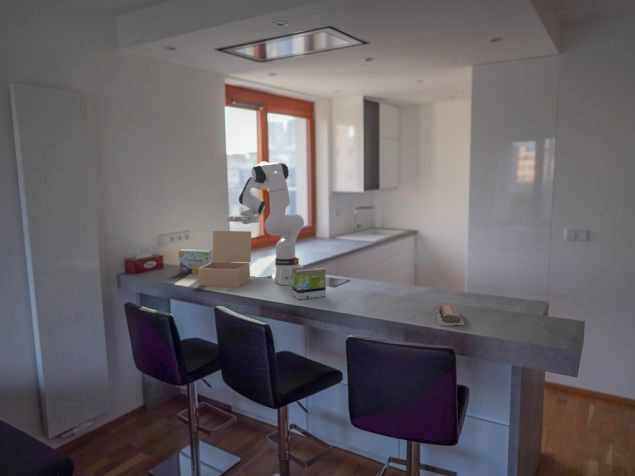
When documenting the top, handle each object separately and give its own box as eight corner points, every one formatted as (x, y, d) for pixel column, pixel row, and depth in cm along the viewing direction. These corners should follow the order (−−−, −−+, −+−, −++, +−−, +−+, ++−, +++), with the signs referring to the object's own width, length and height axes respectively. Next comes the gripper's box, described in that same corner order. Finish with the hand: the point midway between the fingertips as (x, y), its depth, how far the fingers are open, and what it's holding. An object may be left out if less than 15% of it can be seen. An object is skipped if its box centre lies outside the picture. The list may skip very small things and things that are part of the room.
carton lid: (250, 262, 278) (250, 262, 279) (250, 231, 279) (251, 231, 280) (212, 261, 284) (213, 261, 285) (213, 230, 284) (213, 230, 285)
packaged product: (435, 302, 211) (458, 303, 209) (435, 313, 212) (458, 313, 210) (439, 315, 193) (464, 316, 192) (439, 326, 194) (464, 327, 193)
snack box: (179, 273, 300) (178, 250, 298) (184, 271, 306) (183, 248, 303) (209, 274, 294) (207, 251, 292) (213, 272, 299) (212, 249, 297)
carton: (250, 279, 280) (249, 263, 278) (238, 287, 262) (237, 269, 261) (213, 277, 285) (212, 261, 284) (199, 285, 268) (198, 268, 266)
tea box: (298, 300, 234) (297, 271, 232) (292, 295, 243) (291, 267, 241) (326, 297, 239) (325, 268, 237) (319, 292, 249) (318, 264, 246)
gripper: (231, 212, 306) (222, 214, 292) (261, 212, 301) (253, 214, 288) (231, 221, 307) (222, 224, 293) (261, 222, 302) (253, 225, 289)
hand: (238, 219), depth 291 cm, fingers open, 5 cm apart
